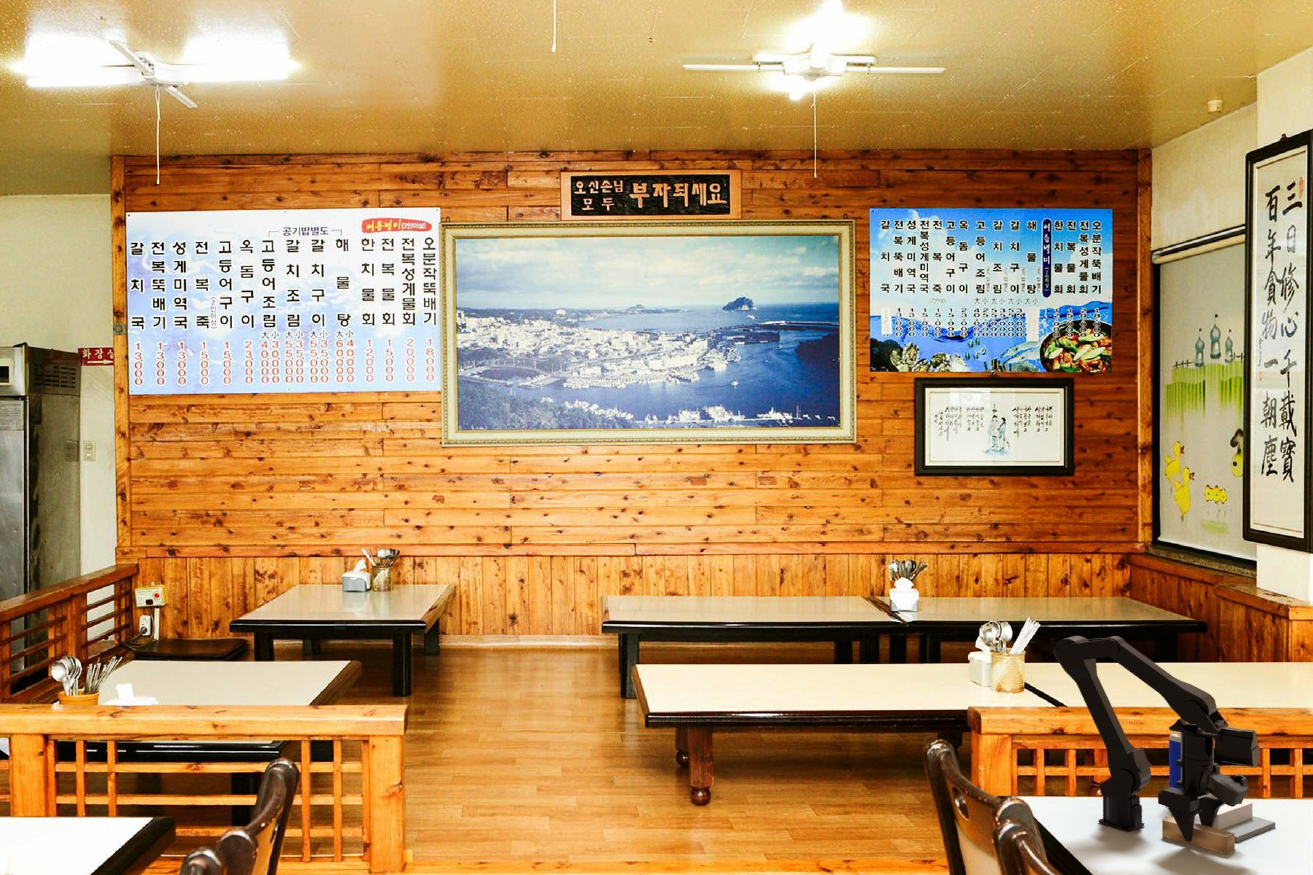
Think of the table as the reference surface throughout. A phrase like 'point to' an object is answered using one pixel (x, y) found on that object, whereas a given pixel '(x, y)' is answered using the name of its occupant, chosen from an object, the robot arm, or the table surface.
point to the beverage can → (1174, 759)
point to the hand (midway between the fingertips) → (1197, 837)
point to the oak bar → (1201, 836)
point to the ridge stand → (1240, 821)
